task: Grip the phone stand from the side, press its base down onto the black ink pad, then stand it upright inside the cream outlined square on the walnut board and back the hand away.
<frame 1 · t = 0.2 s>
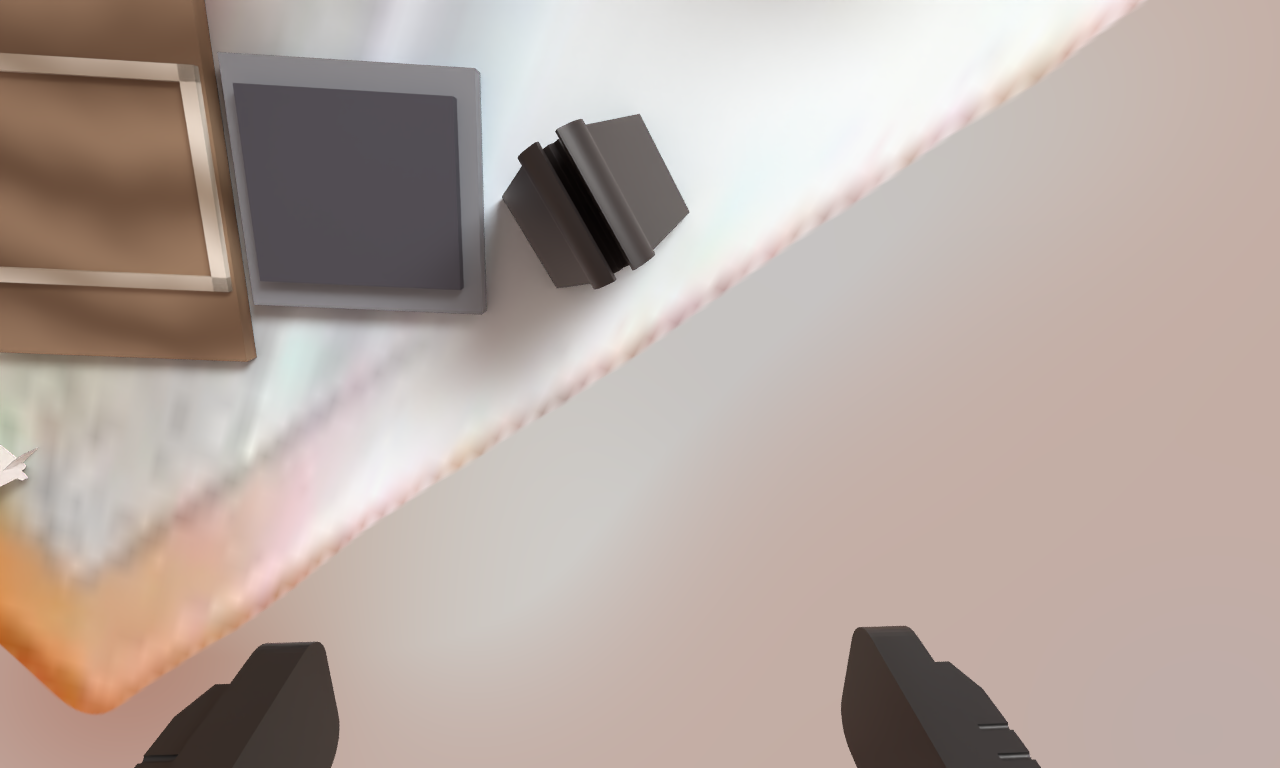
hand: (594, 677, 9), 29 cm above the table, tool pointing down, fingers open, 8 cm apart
ink pad: (367, 192, 34), on the table
car cutout: (55, 478, 39), on the table
phone stand: (596, 204, 35), on the table
marked board: (92, 177, 33), on the table
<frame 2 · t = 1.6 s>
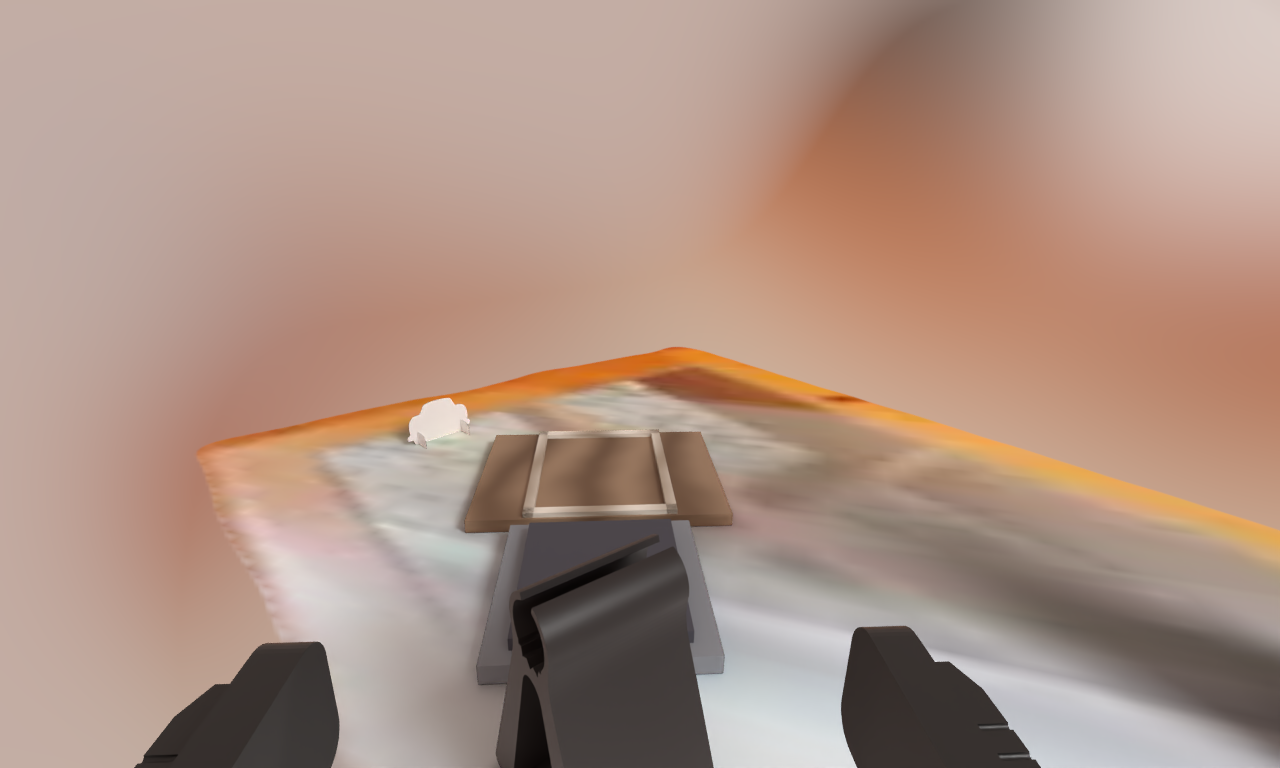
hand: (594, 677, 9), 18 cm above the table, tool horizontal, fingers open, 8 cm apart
ink pad: (601, 596, 38), on the table
car cutout: (401, 455, 57), on the table
marked board: (600, 479, 52), on the table
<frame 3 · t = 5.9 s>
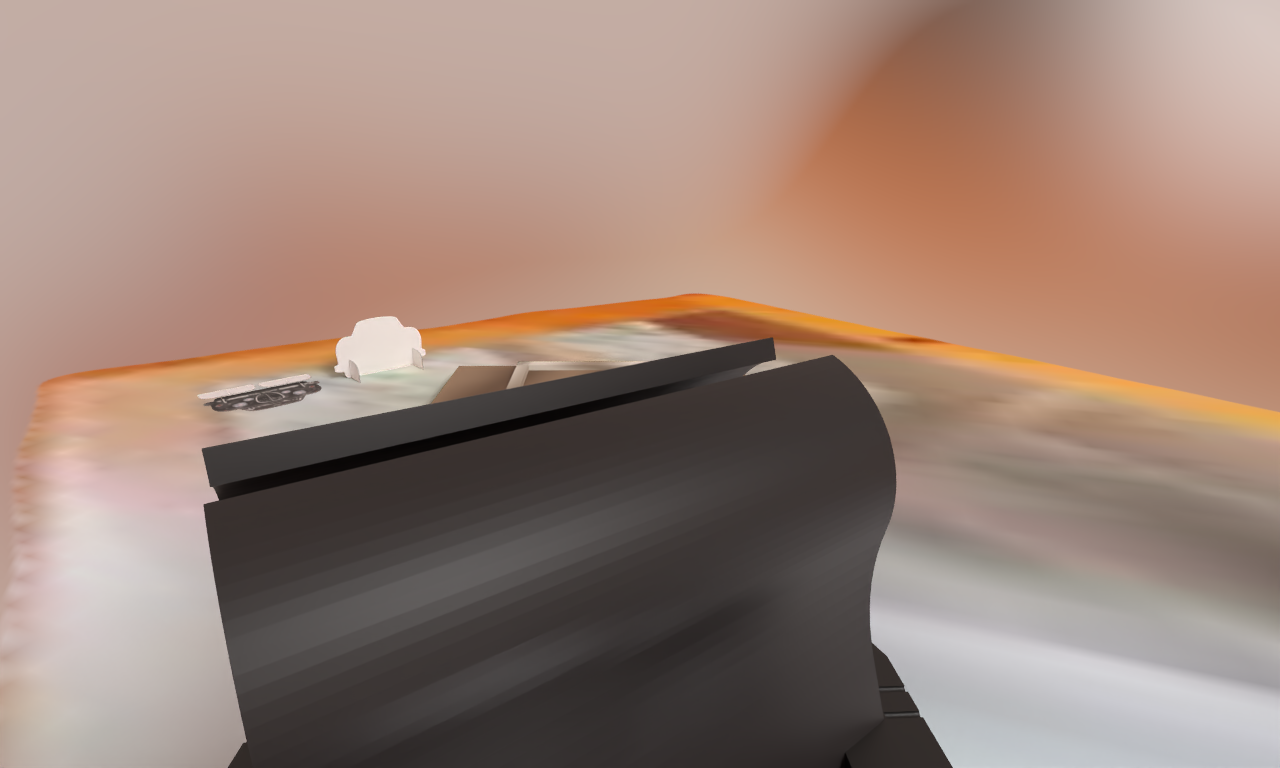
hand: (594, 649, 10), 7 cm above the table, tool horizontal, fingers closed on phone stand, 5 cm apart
car cutout: (326, 391, 42), on the table
marked board: (600, 419, 36), on the table
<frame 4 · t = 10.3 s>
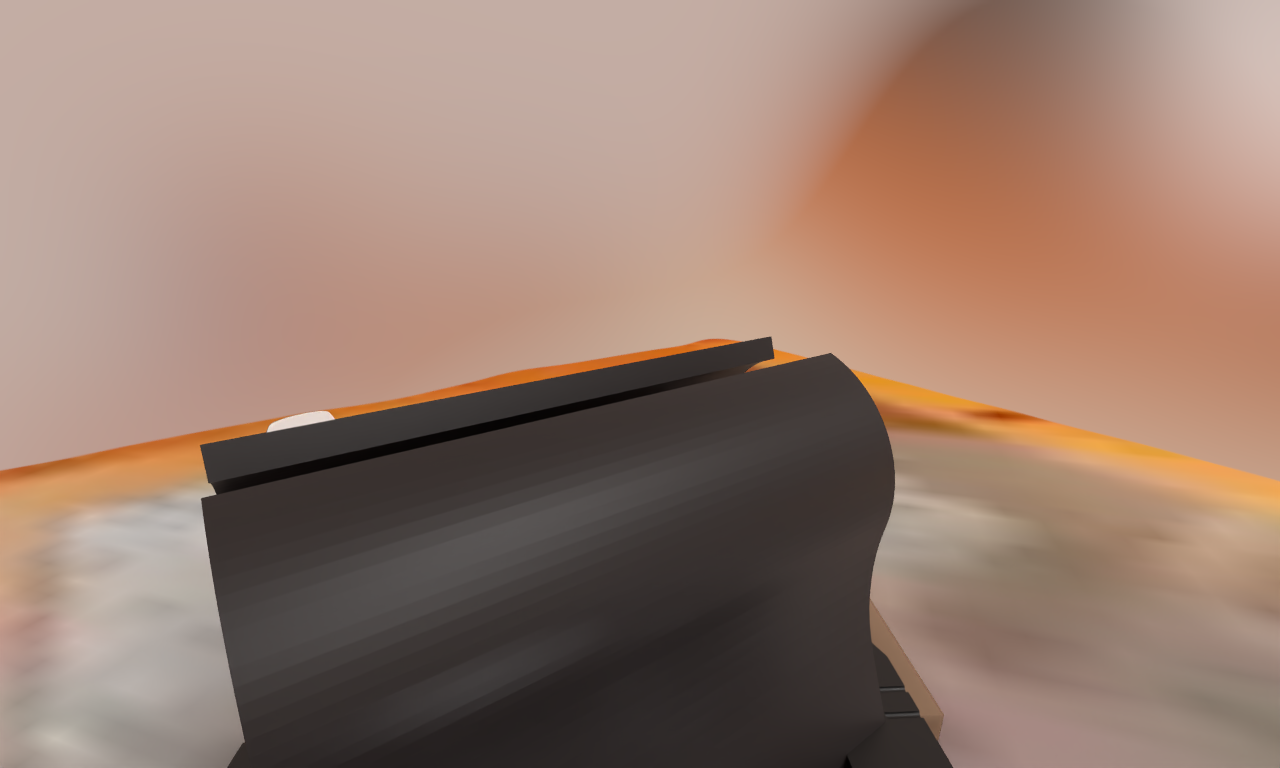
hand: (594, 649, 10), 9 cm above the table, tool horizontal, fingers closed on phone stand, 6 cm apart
car cutout: (226, 518, 30), on the table
marked board: (605, 588, 24), on the table
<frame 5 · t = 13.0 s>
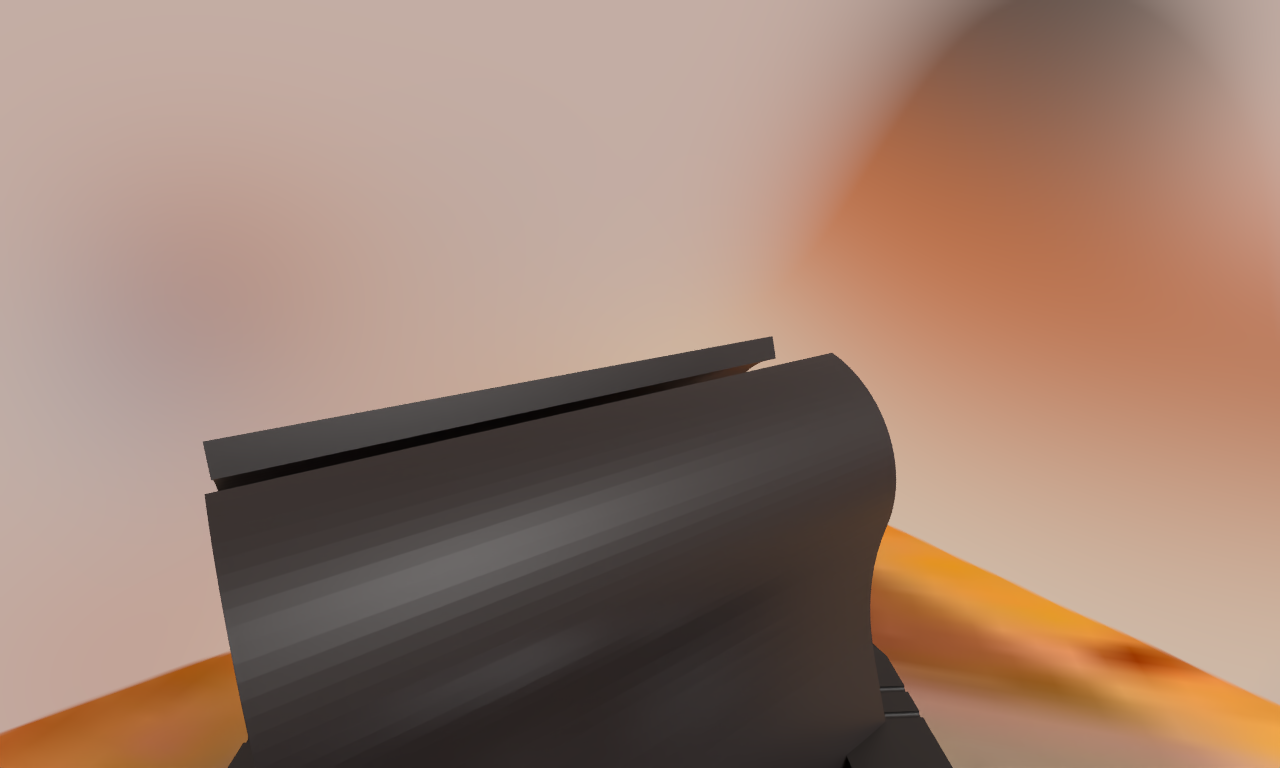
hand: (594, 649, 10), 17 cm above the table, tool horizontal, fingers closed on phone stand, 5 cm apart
when the fingers open (8 cm above the table, at t = 15.1 s): phone stand stays where it is, resting on marked board.
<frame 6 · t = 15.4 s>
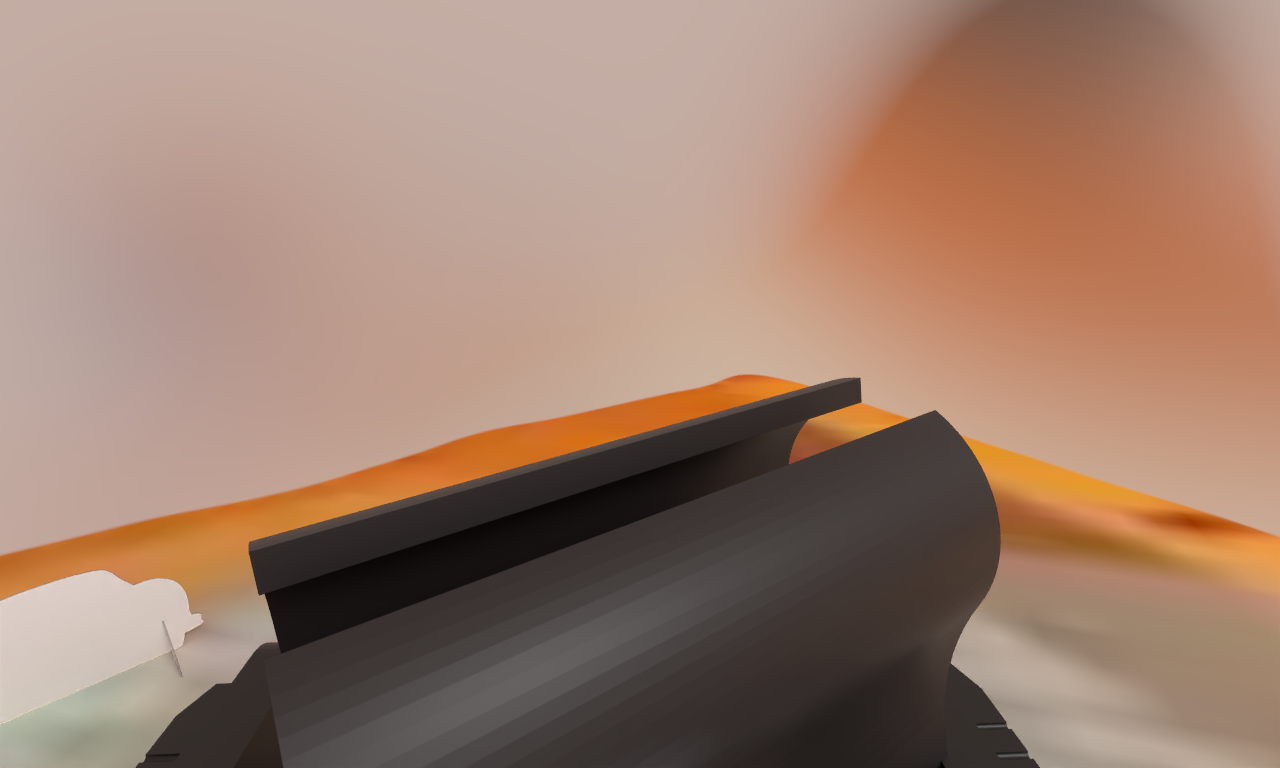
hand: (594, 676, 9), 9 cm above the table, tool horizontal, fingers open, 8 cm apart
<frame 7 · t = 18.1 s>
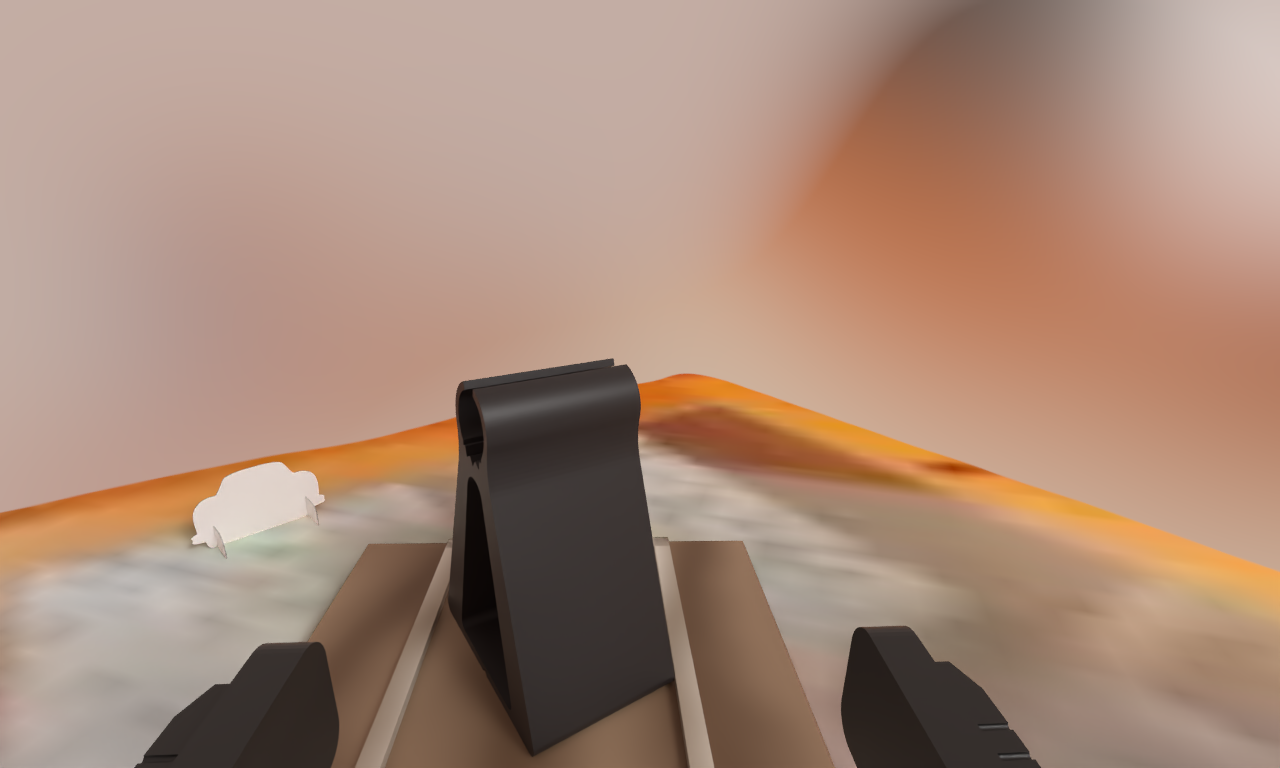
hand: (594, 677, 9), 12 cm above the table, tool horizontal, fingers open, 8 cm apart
car cutout: (179, 570, 31), on the table
phone stand: (553, 647, 25), point 1 cm above the table, touching marked board
marked board: (550, 663, 25), on the table
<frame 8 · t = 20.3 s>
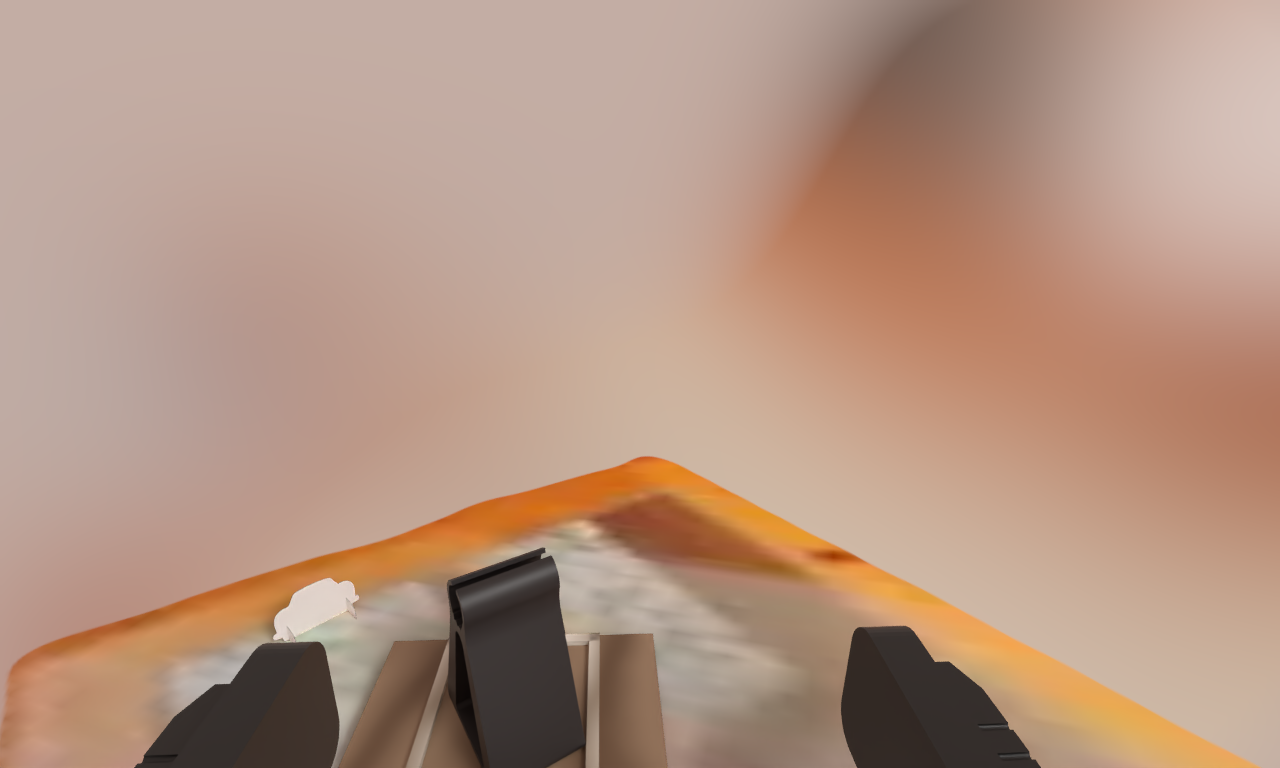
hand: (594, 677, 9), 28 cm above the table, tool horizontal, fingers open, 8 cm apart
car cutout: (265, 658, 46), on the table
phone stand: (513, 721, 40), point 1 cm above the table, touching marked board
marked board: (512, 731, 40), on the table
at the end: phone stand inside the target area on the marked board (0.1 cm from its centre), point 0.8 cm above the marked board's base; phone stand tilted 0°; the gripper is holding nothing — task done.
